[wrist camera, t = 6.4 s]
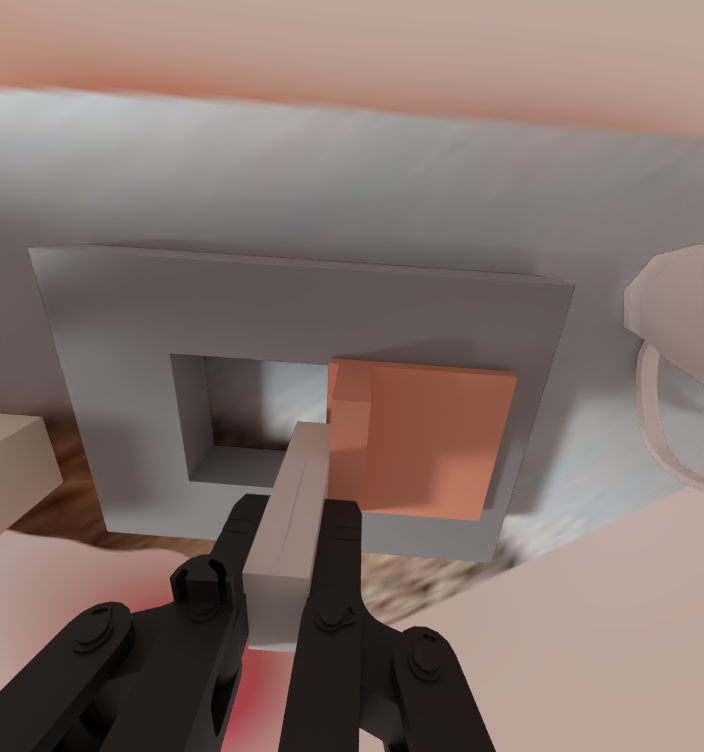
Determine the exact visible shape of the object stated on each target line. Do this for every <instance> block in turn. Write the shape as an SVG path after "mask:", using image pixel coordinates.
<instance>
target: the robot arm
mask: <svg viewBox="0 0 704 752" xmlns="http://www.w3.org/2000/svg"><path fill="white" fill-rule="evenodd" d="M329 446H330V424H325V423H312V422H299V421H297V424H296V427H295V430H294V432H293V435H292V438H291V441H290V443H289V446H288V449H287V451H286V454H285V457H284V460H283V462H282V465H281V468H280V471H279V473H278V476H277V479H276V481H275V484H274V487H273V490H272V492H271V495H260V494H247V493H246V494H245V495H244V496H243V497H242V498H241V499H240V500H239V501H238V502H236V503H235V504H234V506H233V508H232V510H231V512H230V514H229V516H228V518H227V521H226V522H225V525H224V527H223V529H222V532H221V533H220V535H219V537H218V539H217V541H216V543H215V545H214V547H213V549H212V551H211V553H210V554H205V555H199V556H197V557H194V558H191V559H189V560H187V561H186V562H185V563H183V564H182V565H181V566H179V567H178V568H177V569H176V571H175V572H174V573H173V574H172V575H171V577H170V582H171V587H172V592H173V597H174V601H173V602H171V603H169V604H166V605H163V606H160V607H156V608H152V609H148V610H144V611H139V612H135V613H131V614H130V610H129V608H128V607H126V606H125V605H124V604H123V603H119V602H106V603H102V604H97V605H95V606H93V607H91V608H89V609H87V610H85V611H83V612H82V613H80V614H79V615H78V616H77V617H76V618H74V619H73V620H72V621H70V622H69V623H68V624H67V625H66V626H65V627H64V628H63V629H62V630H61V631H60V632H59V633H58V634H57V635H56V636H55V637H54V638H53V639H52V640H51V641H50V642H49V643H48V644H47V645H46V646H45V647H44V648H43V649H42V650H41V651H40V652H39V653H38V654H37V655H36V656H35V657H34V658H33V659H32V660H31V661H30V662H29V663H28V664H27V665H26V666H25V667H24V668H23V669H22V670H21V671H20V672H19V673H18V674H17V675H16V676H15V677H14V678H13V679H12V680H11V681H10V682H9V683H8V684H7V685H6V686H5V687H4V688H3V689H2V690H1V691H0V752H220V750H221V747H222V743H223V740H224V736H225V732H226V729H227V725H228V721H229V718H230V714H231V711H232V708H233V704H234V700H235V697H236V693H237V690H238V686H239V683H240V679H241V672H242V659H241V658H242V655H243V652H244V648H245V645H246V641H247V638H248V646H249V649H259V650H271V651H283V652H293V653H295V657H294V663H293V668H292V674H291V679H290V685H289V691H288V697H287V702H286V708H285V714H284V720H283V725H282V732H281V737H280V743H279V749H278V752H359V728H361V729H363V730H365V731H366V732H368V733H370V734H372V735H373V736H375V737H377V738H379V739H380V740H382V741H383V745H384V750H385V752H496V751H495V748H494V746H493V744H492V741H491V739H490V736H489V734H488V731H487V729H486V727H485V724H484V722H483V719H482V717H481V714H480V712H479V710H478V707H477V705H476V702H475V700H474V698H473V695H472V693H471V690H470V688H469V686H468V683H467V681H466V678H465V676H464V674H463V671H462V669H461V666H460V664H459V661H458V659H457V657H456V654H455V653H454V651H453V649H452V648H451V646H450V644H449V642H448V641H447V640H445V638H443V637H442V636H441V635H440V634H439V633H438V632H436V631H434V630H432V629H429V628H427V627H417V626H414V627H411V628H409V629H407V630H404V631H403V632H400V631H397V630H395V629H393V628H391V627H389V626H386V625H384V624H383V623H381V622H379V621H378V620H376V619H375V618H374V617H373V616H372V615H371V614H370V613H369V612H368V610H367V609H366V607H365V606H364V603H363V600H362V597H361V541H362V513H361V511H360V509H359V507H358V505H357V502H356V501H348V500H335V499H327V496H328V473H329Z"/></svg>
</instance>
